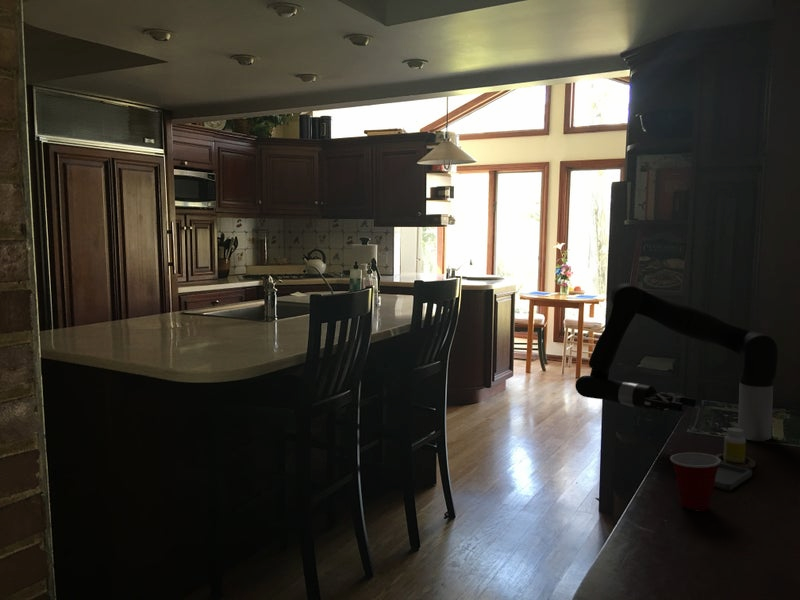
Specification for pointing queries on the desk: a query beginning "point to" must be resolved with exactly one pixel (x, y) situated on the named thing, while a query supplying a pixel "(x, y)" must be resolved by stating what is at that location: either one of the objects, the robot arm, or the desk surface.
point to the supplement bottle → (734, 446)
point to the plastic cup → (695, 478)
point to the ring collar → (748, 466)
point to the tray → (730, 476)
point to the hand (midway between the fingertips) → (689, 405)
